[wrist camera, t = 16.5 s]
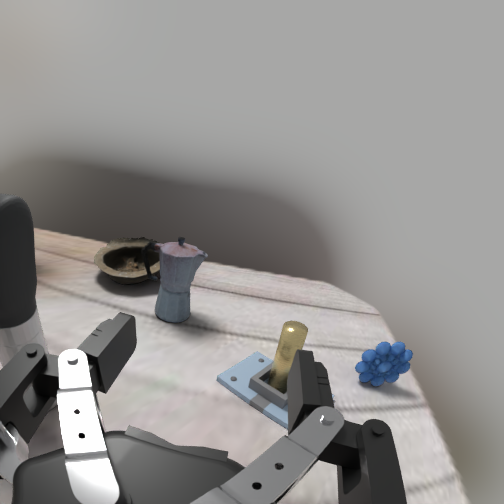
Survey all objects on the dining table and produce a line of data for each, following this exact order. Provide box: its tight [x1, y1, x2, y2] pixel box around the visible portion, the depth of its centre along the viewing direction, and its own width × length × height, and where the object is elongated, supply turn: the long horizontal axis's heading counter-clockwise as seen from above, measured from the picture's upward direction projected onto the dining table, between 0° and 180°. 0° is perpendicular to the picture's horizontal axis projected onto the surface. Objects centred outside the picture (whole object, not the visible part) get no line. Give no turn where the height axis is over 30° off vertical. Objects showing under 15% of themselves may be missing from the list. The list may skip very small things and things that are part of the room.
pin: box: [267, 321, 308, 394], centre depth 45 cm, size 4×4×14 cm
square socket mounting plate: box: [217, 351, 334, 429], centre depth 47 cm, size 19×12×4 cm, turn 51°
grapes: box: [355, 342, 413, 386], centre depth 50 cm, size 12×7×12 cm, turn 70°
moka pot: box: [142, 237, 208, 323], centre depth 64 cm, size 10×15×20 cm, turn 102°
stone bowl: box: [94, 237, 161, 285], centre depth 81 cm, size 25×25×9 cm
